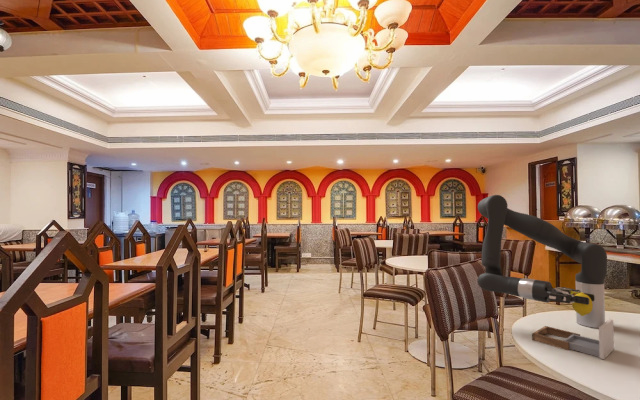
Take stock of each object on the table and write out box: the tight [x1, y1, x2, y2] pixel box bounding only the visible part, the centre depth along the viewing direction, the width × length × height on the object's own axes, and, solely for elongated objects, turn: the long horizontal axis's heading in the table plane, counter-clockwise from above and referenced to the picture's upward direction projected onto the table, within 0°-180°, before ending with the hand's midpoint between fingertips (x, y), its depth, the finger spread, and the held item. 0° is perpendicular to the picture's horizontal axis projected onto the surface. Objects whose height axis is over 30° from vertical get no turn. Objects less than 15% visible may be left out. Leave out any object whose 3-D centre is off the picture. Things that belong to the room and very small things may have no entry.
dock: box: [531, 325, 581, 351], centre depth 122 cm, size 12×11×2 cm
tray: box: [563, 318, 615, 360], centre depth 115 cm, size 12×11×10 cm
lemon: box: [571, 292, 593, 316], centre depth 114 cm, size 6×6×8 cm
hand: (591, 299), depth 112 cm, fingers closed on lemon, 5 cm apart
